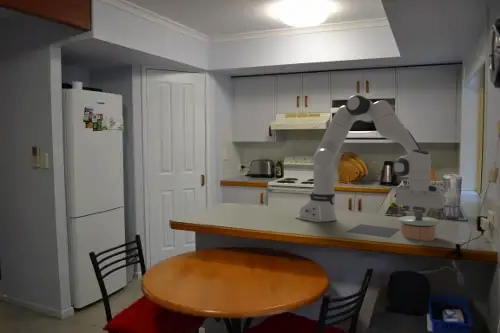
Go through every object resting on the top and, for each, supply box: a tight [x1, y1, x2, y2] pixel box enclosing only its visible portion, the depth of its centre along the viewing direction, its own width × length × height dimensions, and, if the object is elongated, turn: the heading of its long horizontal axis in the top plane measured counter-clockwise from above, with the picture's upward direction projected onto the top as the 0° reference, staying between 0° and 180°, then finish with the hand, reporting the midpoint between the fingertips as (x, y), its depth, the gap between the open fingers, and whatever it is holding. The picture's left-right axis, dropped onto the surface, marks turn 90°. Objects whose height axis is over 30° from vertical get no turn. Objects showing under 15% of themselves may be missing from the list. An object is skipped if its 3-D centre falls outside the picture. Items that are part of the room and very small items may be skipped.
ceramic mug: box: [401, 210, 412, 217], centre depth 208 cm, size 11×8×8 cm
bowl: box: [400, 222, 437, 242], centre depth 185 cm, size 14×14×6 cm
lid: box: [398, 209, 441, 226], centre depth 184 cm, size 17×17×5 cm
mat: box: [345, 224, 401, 239], centre depth 196 cm, size 20×20×1 cm
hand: (418, 216), depth 184 cm, fingers closed on lid, 3 cm apart
